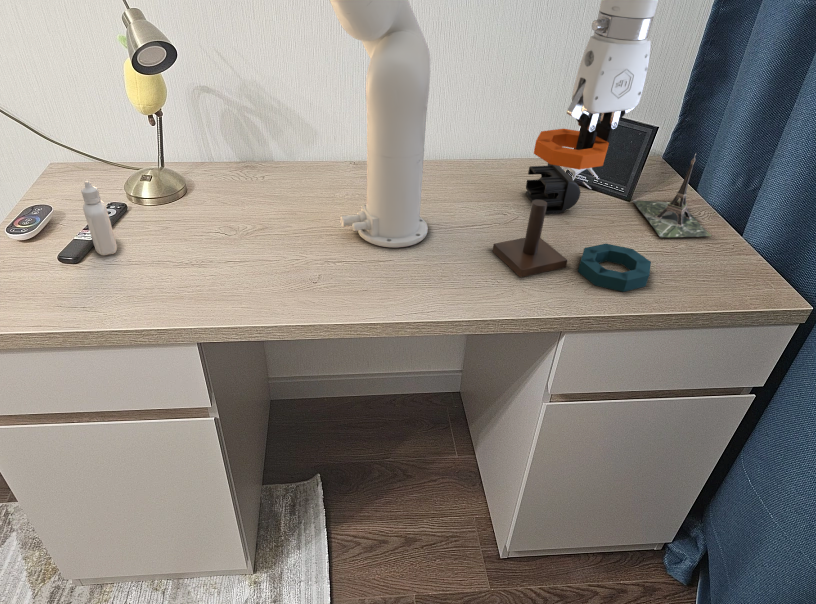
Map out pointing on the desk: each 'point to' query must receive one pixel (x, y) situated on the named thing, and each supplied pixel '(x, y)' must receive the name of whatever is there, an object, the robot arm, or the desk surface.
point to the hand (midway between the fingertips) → (590, 150)
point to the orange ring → (555, 153)
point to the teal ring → (609, 277)
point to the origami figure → (577, 171)
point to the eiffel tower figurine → (673, 214)
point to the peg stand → (531, 247)
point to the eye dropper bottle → (98, 221)
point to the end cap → (552, 188)
